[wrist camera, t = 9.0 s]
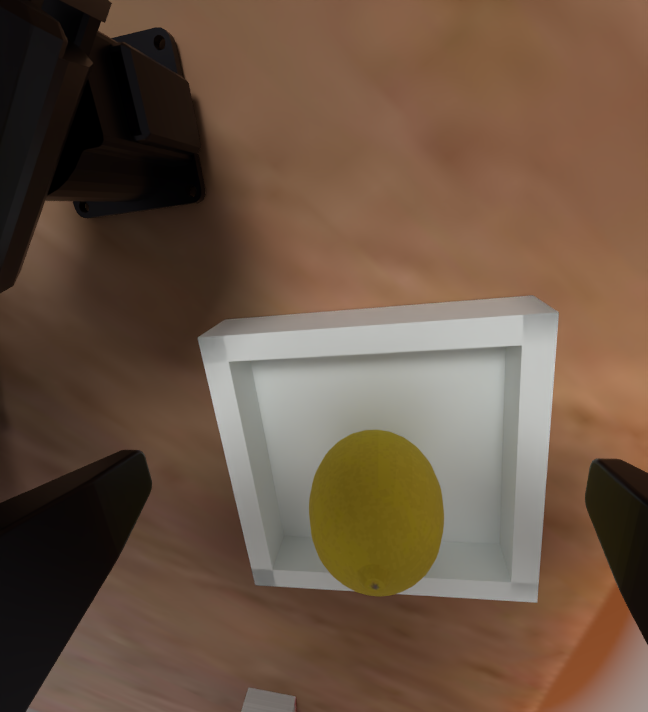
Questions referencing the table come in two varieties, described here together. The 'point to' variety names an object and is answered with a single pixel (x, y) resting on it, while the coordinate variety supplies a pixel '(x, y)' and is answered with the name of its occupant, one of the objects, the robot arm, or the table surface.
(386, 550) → the lemon
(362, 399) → the dish
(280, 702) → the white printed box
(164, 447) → the table surface
